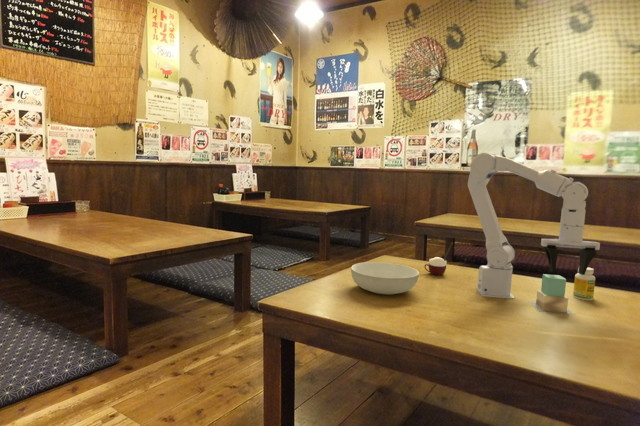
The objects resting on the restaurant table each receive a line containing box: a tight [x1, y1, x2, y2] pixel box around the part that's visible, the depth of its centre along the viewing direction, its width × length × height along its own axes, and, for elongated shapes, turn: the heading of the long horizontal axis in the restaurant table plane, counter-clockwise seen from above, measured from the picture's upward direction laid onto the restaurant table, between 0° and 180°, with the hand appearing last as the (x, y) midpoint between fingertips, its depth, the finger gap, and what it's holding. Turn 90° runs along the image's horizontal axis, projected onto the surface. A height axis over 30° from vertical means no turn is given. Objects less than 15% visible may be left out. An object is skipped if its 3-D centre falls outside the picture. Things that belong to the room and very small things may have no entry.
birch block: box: [535, 289, 569, 312], centre depth 118 cm, size 6×6×4 cm
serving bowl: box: [350, 261, 420, 296], centre depth 130 cm, size 21×21×7 cm
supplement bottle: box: [572, 266, 596, 301], centre depth 129 cm, size 5×5×10 cm
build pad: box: [528, 300, 576, 316], centre depth 118 cm, size 9×9×1 cm
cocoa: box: [423, 242, 454, 276], centre depth 152 cm, size 10×6×12 cm, turn 58°
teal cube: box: [540, 273, 567, 297], centre depth 117 cm, size 4×4×5 cm
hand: (566, 272), depth 118 cm, fingers open, 7 cm apart
